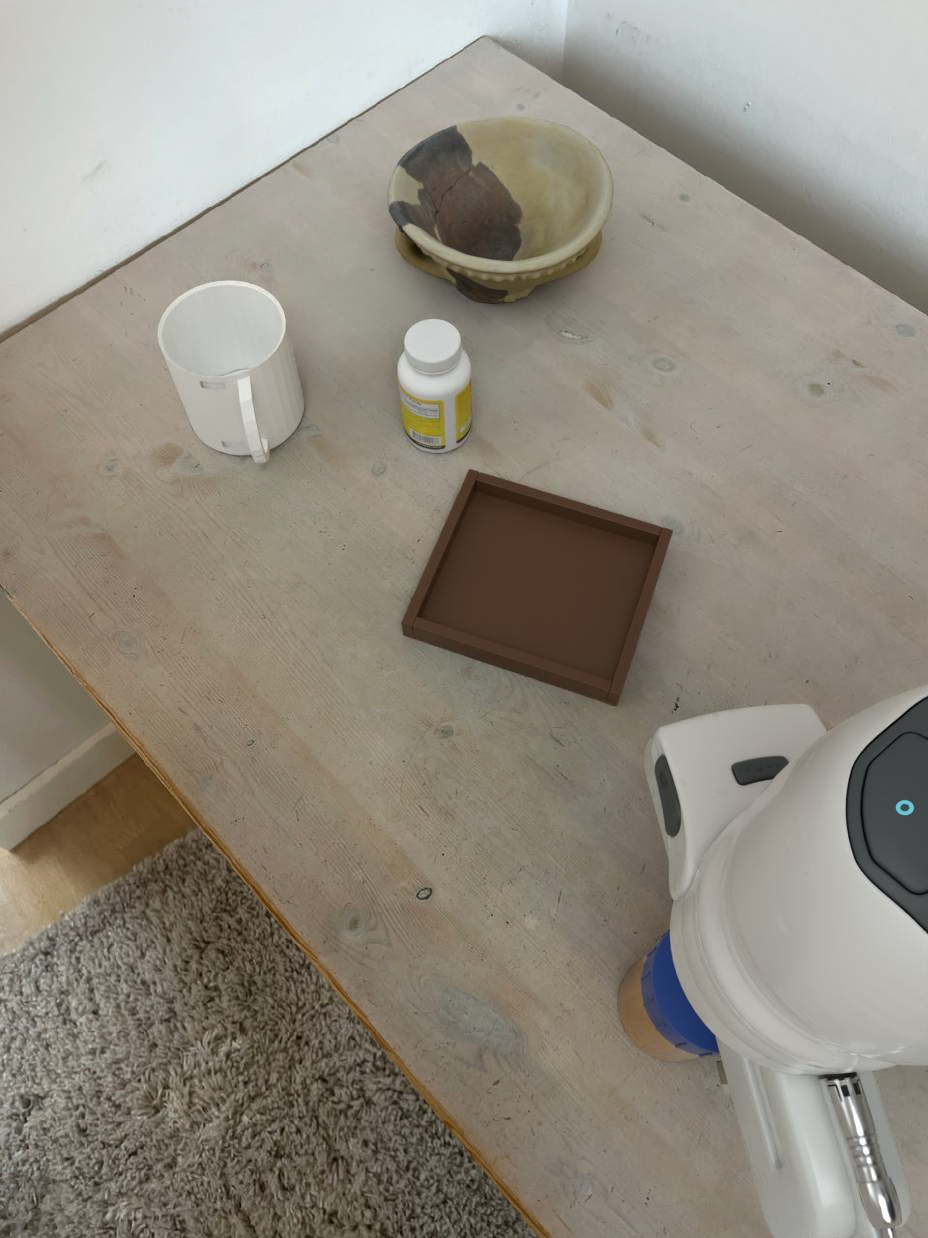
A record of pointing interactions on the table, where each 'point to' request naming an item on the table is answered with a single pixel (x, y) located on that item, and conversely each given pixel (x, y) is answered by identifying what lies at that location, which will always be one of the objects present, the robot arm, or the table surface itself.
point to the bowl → (501, 205)
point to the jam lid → (673, 1004)
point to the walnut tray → (539, 586)
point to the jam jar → (644, 1020)
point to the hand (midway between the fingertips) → (710, 982)
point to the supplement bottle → (435, 387)
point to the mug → (233, 367)
